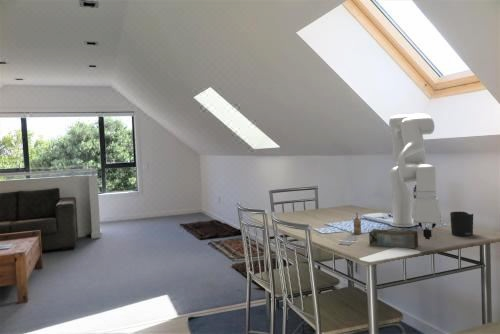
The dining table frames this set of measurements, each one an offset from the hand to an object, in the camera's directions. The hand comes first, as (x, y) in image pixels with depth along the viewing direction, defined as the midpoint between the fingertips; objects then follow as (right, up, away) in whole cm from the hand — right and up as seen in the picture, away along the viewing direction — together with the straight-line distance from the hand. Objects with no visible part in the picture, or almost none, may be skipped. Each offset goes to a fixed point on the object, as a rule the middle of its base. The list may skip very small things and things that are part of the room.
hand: (427, 238), depth 159 cm
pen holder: (+25, -2, +19) cm, 31 cm away
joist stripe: (-28, -4, +17) cm, 33 cm away
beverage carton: (-12, -4, +6) cm, 14 cm away
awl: (-21, -3, +31) cm, 37 cm away
